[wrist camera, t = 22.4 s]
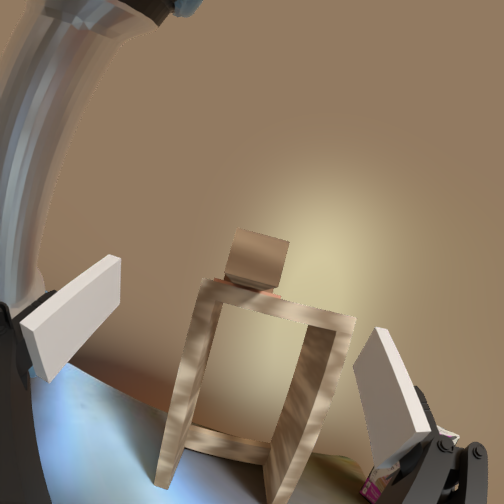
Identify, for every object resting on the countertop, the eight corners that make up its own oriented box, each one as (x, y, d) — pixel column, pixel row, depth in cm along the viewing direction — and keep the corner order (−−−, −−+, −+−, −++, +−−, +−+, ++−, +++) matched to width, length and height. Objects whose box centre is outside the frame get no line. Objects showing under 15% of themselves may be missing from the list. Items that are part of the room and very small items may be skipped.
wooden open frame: (153, 485, 26) (202, 277, 31) (174, 442, 40) (215, 283, 44) (281, 512, 26) (356, 317, 30) (272, 465, 40) (323, 311, 44)
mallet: (296, 292, 18) (317, 204, 19) (205, 267, 18) (231, 181, 19) (266, 294, 41) (277, 255, 42) (227, 283, 42) (238, 244, 42)
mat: (213, 281, 33) (214, 277, 33) (220, 284, 43) (221, 281, 43) (280, 299, 33) (281, 295, 33) (271, 298, 42) (272, 295, 42)
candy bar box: (356, 492, 31) (394, 414, 34) (377, 488, 32) (413, 413, 35) (393, 525, 21) (444, 439, 23) (413, 517, 22) (461, 434, 24)
